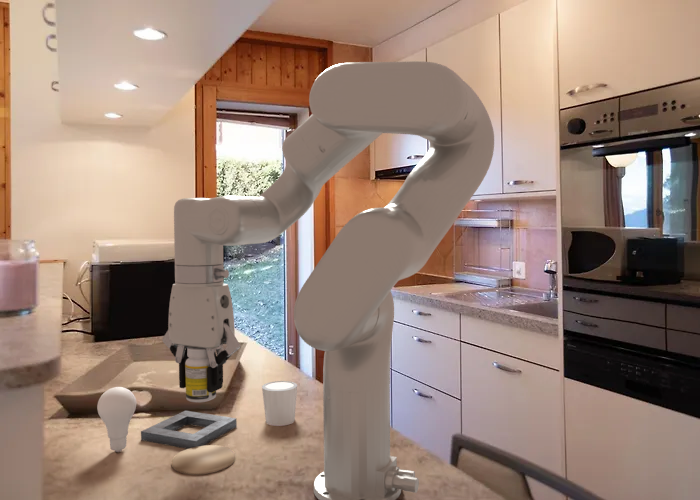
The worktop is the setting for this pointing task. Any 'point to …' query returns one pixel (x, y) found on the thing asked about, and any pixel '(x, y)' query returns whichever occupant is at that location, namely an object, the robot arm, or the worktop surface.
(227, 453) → the coaster
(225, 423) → the collar
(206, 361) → the supplement bottle
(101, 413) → the lightbulb
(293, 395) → the white cup
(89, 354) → the worktop surface
